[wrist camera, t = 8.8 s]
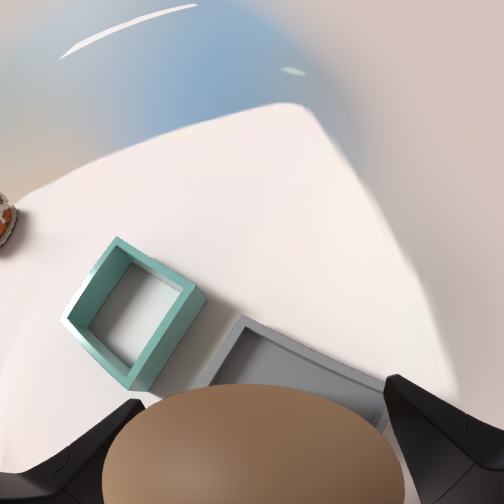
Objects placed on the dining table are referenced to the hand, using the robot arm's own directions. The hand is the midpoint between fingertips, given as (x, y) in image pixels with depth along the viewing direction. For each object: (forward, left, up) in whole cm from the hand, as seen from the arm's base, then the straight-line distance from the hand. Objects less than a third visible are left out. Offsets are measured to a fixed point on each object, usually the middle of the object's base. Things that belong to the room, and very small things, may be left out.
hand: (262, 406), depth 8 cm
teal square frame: (0, +12, -9) cm, 15 cm away
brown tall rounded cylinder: (-1, -1, -9) cm, 9 cm away
